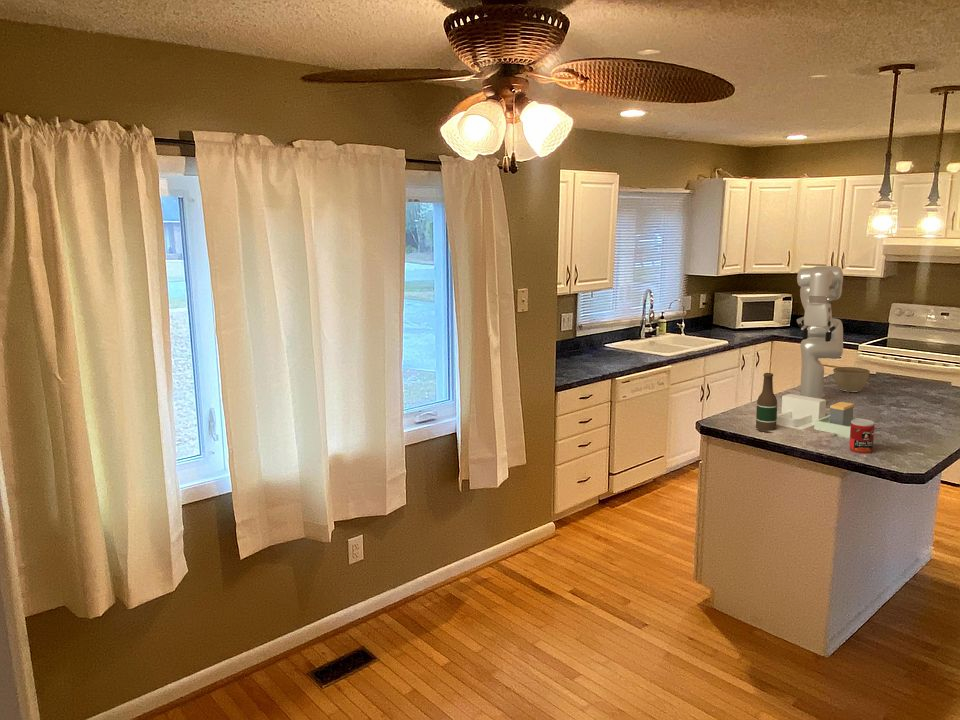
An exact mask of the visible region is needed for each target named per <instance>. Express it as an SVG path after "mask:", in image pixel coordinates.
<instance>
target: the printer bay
mask: <svg viewBox="0 0 960 720" xmlns="http://www.w3.org/2000/svg"><path fill="white" fill-rule="evenodd" d="M781 397H782V399H781V413H777V422H776V426H780V427H781V426H782V427H786V428H791V429H796V430H800V431H801V430H805V429H807V428H810V427H812V426H813V427H814V422H815V420H818V419H820V418H823V417H826V411H827V410H826V408H827V399H824V398H822V399H819V398H812V397H806V396H800V394H794V393H793V394H792V393H788V394H784V395H782V396H781Z"/></svg>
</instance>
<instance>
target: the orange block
mask: <svg viewBox="0 0 960 720" xmlns="http://www.w3.org/2000/svg"><path fill="white" fill-rule="evenodd" d="M829 406H830V407H829V408H830V410H829V411H830V412H829V415H830V423H833V424H838V425H843V426H851V420H853V417H854V407H855V403H850V402H845V401H839V402H836V403H833V404H831V405H829Z"/></svg>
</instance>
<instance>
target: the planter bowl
mask: <svg viewBox="0 0 960 720" xmlns="http://www.w3.org/2000/svg"><path fill="white" fill-rule="evenodd" d="M832 372H833V377H834V378H833V379H834V382H835V384H836V385H837V387H838V388H840V389H842V390H846V391H862V390H863V389H864V387H865V386H866V385H867V382H868V380H869V378H870V377H869V376H870V373H871V371H870V370H868V369H867V368H861V367H855V366H838V367H835V368H833V369H832Z"/></svg>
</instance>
